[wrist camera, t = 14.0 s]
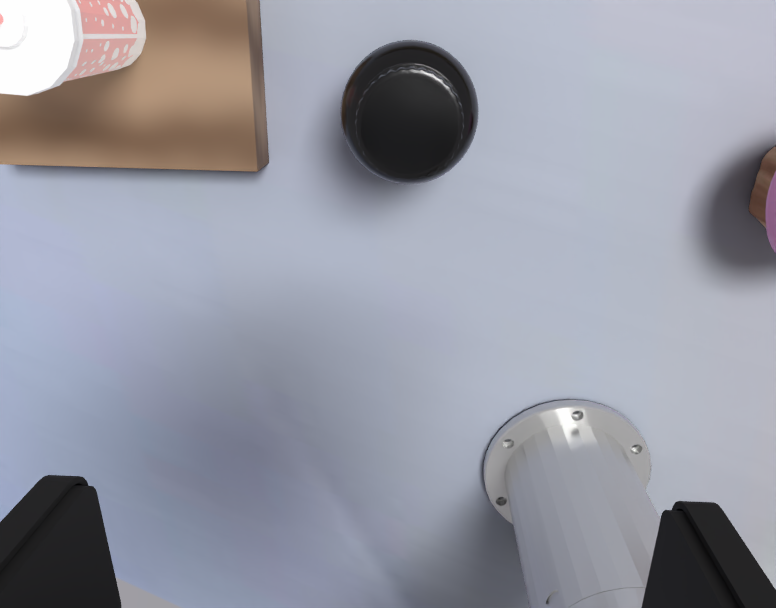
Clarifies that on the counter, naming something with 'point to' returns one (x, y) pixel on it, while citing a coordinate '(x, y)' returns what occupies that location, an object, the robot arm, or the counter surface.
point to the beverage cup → (65, 41)
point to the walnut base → (156, 99)
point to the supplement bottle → (409, 112)
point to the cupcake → (766, 196)
